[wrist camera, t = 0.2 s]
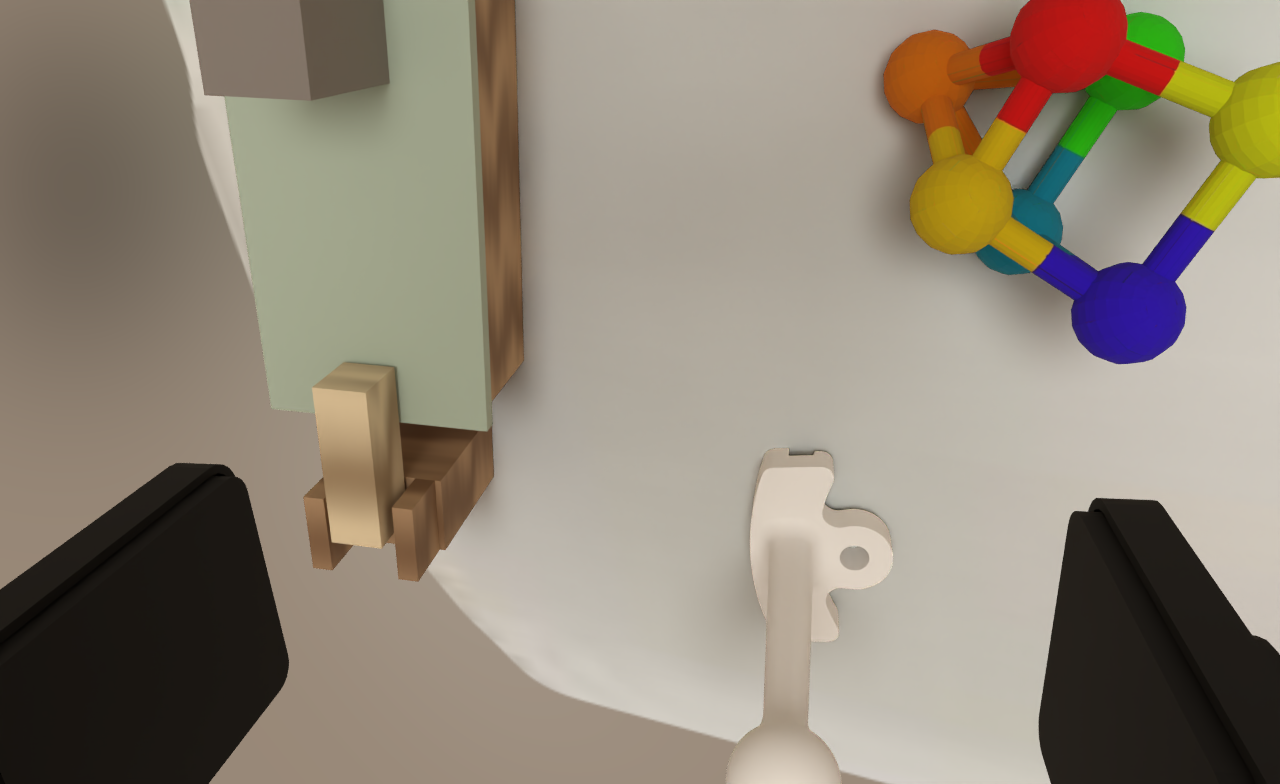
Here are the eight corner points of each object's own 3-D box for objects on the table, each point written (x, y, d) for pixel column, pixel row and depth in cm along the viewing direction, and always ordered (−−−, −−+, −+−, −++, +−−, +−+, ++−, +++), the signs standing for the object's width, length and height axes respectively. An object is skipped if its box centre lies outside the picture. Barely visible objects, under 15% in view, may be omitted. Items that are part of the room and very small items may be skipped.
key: (343, 362, 43) (311, 387, 40) (394, 367, 42) (365, 392, 39) (360, 509, 46) (331, 542, 43) (407, 515, 45) (381, 548, 43)
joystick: (746, 449, 50) (709, 709, 32) (889, 445, 48) (934, 717, 30) (758, 616, 54) (732, 929, 36) (890, 618, 53) (931, 945, 35)
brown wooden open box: (310, -50, 43) (167, -61, 34) (513, -44, 42) (425, -55, 32) (365, 461, 54) (269, 561, 45) (526, 479, 53) (464, 587, 43)
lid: (211, -71, 37) (80, -84, 30) (472, -65, 35) (394, -77, 29) (280, 402, 45) (189, 472, 39) (492, 424, 44) (435, 501, 37)
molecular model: (833, 61, 42) (1065, -160, 27) (1054, 84, 45) (1368, -103, 30) (846, 385, 40) (1098, 333, 26) (1074, 386, 43) (1411, 340, 29)
